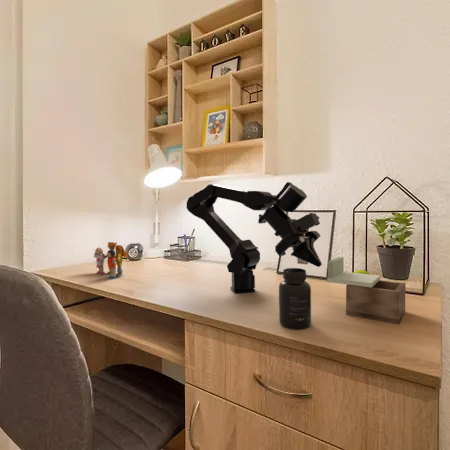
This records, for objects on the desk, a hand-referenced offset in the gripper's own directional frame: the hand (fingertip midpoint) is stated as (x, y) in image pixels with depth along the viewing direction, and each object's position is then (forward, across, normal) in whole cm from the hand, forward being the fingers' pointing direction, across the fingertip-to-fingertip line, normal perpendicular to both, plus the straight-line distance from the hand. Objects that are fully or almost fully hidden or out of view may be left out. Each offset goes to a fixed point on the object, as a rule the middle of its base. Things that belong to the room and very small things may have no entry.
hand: (320, 265), depth 80 cm
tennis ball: (+12, +18, +3) cm, 22 cm away
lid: (+8, 0, -4) cm, 9 cm away
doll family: (-52, -8, +66) cm, 84 cm away
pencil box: (+17, 0, -2) cm, 17 cm away
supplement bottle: (+8, -18, +7) cm, 20 cm away
